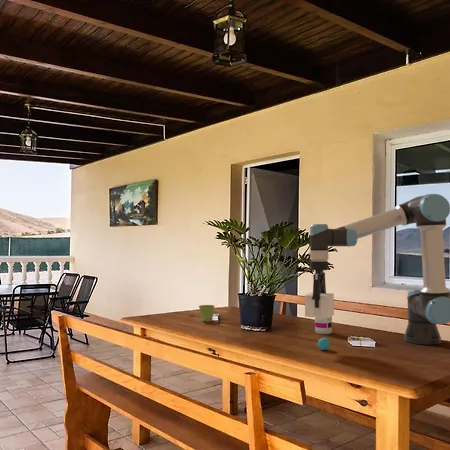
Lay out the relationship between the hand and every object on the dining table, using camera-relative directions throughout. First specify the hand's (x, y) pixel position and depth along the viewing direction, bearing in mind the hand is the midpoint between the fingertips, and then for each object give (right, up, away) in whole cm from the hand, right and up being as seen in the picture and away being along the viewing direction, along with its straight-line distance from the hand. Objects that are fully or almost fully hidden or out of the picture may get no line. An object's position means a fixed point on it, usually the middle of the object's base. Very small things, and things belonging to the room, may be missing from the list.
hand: (319, 313), depth 196 cm
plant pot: (-50, -18, +73) cm, 90 cm away
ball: (+1, -12, -1) cm, 13 cm away
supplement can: (+9, -16, +35) cm, 39 cm away
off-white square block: (0, -1, 0) cm, 1 cm away
